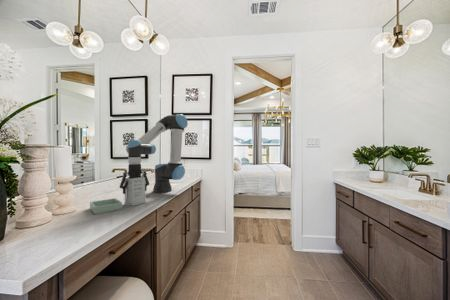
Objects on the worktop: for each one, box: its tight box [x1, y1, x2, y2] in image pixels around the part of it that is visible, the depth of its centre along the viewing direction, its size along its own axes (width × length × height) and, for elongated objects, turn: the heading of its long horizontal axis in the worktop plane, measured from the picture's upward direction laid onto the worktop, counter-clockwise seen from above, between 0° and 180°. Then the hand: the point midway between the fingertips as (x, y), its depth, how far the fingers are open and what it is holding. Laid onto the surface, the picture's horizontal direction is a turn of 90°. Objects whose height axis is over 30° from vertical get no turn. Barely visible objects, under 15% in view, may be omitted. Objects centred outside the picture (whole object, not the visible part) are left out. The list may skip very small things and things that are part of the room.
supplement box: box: [124, 176, 146, 207], centre depth 131 cm, size 10×9×17 cm
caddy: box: [89, 197, 123, 215], centre depth 119 cm, size 14×15×4 cm
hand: (135, 197), depth 131 cm, fingers closed on supplement box, 11 cm apart
